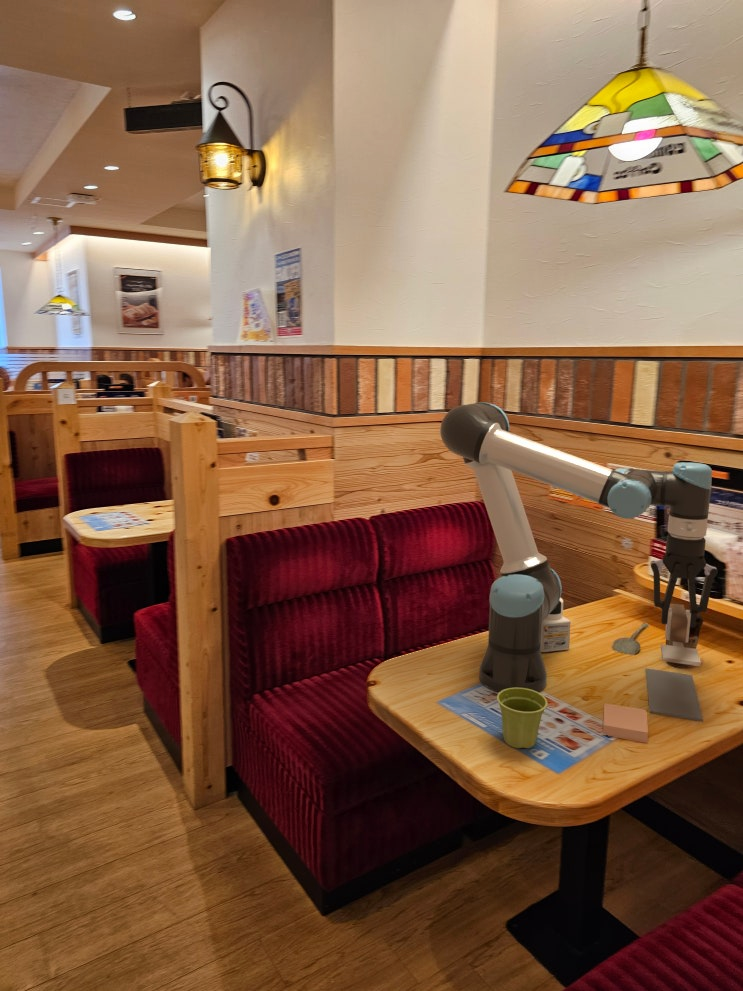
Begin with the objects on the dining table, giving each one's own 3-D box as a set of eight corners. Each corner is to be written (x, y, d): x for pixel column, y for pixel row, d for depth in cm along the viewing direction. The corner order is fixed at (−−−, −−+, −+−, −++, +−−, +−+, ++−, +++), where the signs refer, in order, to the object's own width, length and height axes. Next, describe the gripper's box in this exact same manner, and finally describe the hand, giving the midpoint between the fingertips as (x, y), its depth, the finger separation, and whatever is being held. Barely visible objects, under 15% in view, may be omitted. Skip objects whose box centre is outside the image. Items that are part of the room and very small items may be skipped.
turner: (662, 661, 137) (665, 633, 135) (657, 626, 155) (659, 602, 153) (700, 666, 134) (703, 638, 133) (690, 630, 152) (693, 606, 151)
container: (542, 652, 167) (544, 602, 165) (527, 641, 174) (528, 593, 172) (569, 649, 169) (571, 600, 167) (554, 638, 176) (555, 591, 174)
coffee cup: (703, 672, 157) (709, 620, 155) (665, 669, 159) (670, 617, 156) (693, 657, 166) (698, 607, 163) (657, 654, 167) (662, 604, 165)
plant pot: (553, 739, 129) (556, 698, 127) (529, 760, 122) (532, 717, 120) (510, 722, 135) (513, 682, 133) (485, 741, 128) (487, 700, 126)
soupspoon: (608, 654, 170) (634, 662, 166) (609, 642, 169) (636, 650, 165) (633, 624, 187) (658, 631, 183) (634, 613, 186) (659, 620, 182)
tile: (603, 714, 139) (603, 736, 131) (604, 703, 139) (603, 724, 130) (645, 721, 136) (647, 744, 128) (646, 710, 136) (648, 732, 128)
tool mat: (649, 712, 139) (649, 710, 139) (645, 670, 158) (645, 668, 158) (702, 721, 136) (702, 719, 136) (692, 676, 155) (692, 674, 155)
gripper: (646, 536, 142) (637, 640, 146) (731, 543, 136) (719, 650, 141) (645, 528, 149) (636, 627, 153) (725, 534, 143) (714, 637, 148)
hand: (676, 638), depth 147 cm, fingers closed on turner, 3 cm apart
